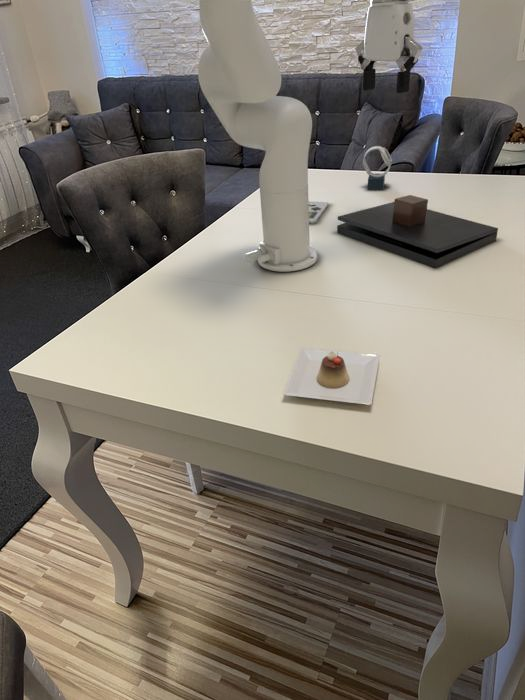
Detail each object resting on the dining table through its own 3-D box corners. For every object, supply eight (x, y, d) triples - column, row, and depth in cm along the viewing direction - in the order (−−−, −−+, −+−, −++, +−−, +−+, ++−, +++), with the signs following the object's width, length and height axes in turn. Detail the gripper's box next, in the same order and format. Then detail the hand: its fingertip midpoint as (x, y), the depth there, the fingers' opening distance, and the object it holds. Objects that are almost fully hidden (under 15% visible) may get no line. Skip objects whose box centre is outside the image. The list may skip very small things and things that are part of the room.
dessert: (371, 411, 70) (372, 381, 67) (282, 400, 73) (280, 372, 71) (379, 360, 80) (381, 333, 77) (300, 353, 83) (299, 326, 80)
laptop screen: (436, 253, 103) (437, 249, 103) (337, 220, 123) (337, 216, 122) (497, 232, 113) (498, 228, 113) (396, 204, 133) (396, 200, 132)
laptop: (435, 268, 105) (436, 259, 104) (337, 232, 124) (337, 225, 123) (496, 240, 114) (497, 231, 113) (395, 211, 134) (396, 204, 133)
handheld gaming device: (329, 201, 142) (315, 220, 130) (329, 204, 142) (315, 223, 130) (297, 200, 144) (280, 219, 133) (297, 203, 145) (280, 222, 133)
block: (409, 226, 115) (412, 203, 112) (392, 221, 118) (394, 198, 116) (425, 222, 117) (428, 199, 115) (407, 217, 121) (409, 194, 118)
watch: (390, 190, 149) (392, 149, 143) (361, 190, 151) (362, 149, 145) (391, 184, 153) (393, 144, 147) (363, 184, 155) (364, 144, 149)
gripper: (437, -8, 102) (428, 90, 111) (371, -3, 114) (368, 86, 124) (411, -6, 99) (404, 96, 108) (345, 0, 111) (344, 90, 120)
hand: (385, 90), depth 116 cm, fingers open, 9 cm apart
